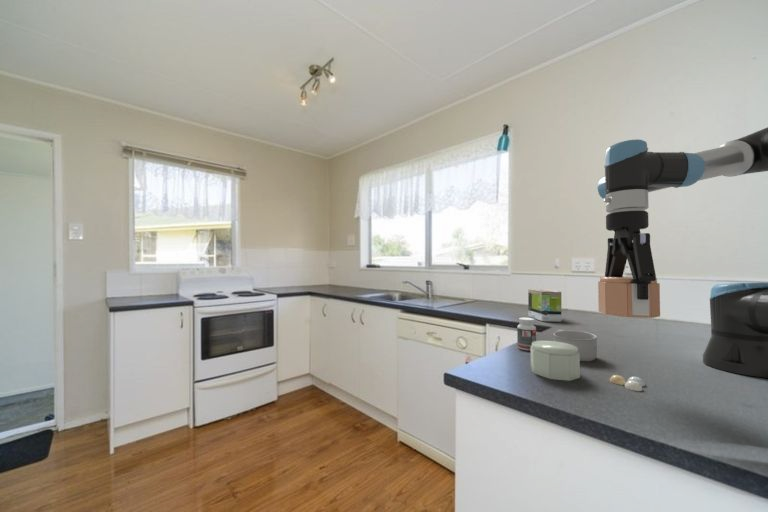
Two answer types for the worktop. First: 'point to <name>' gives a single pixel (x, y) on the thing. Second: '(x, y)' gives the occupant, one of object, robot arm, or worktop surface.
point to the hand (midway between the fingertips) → (627, 311)
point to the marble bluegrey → (637, 380)
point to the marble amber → (617, 380)
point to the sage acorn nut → (555, 360)
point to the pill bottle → (526, 333)
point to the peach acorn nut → (625, 297)
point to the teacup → (579, 342)
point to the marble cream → (633, 386)
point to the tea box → (544, 305)
